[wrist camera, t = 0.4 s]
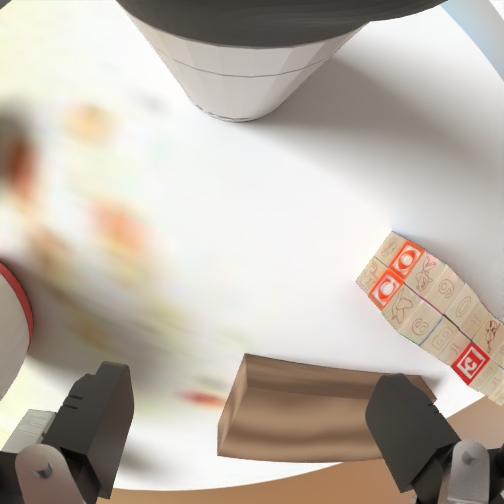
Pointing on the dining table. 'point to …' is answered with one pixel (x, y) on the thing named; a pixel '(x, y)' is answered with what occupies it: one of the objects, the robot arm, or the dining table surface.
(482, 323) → the stack of blocks
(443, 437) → the robot arm
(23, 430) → the skincare box
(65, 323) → the dining table surface
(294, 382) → the walnut block
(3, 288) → the citrus juicer
